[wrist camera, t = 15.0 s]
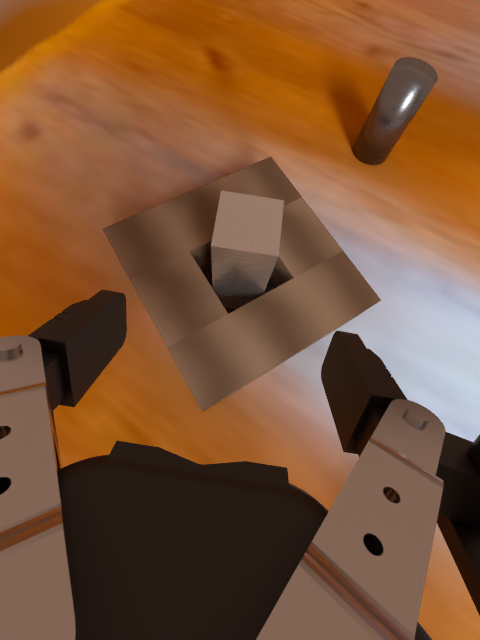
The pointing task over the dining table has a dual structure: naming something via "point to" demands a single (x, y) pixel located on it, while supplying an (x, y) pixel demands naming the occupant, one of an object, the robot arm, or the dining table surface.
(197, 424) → the dining table surface
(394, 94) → the round bit
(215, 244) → the square bit
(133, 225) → the socket block
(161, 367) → the dining table surface
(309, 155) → the dining table surface
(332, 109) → the dining table surface
